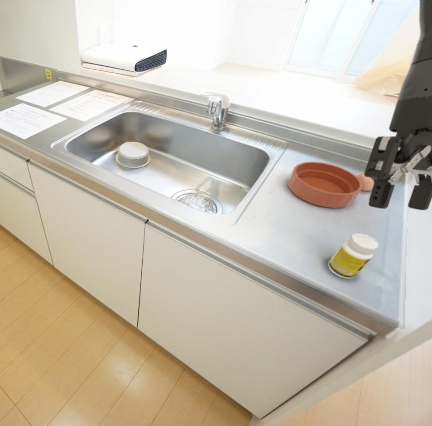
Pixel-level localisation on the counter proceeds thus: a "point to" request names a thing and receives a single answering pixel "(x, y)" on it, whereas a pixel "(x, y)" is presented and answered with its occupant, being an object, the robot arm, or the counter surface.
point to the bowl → (324, 184)
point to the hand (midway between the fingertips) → (397, 208)
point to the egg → (366, 182)
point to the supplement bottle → (353, 255)
